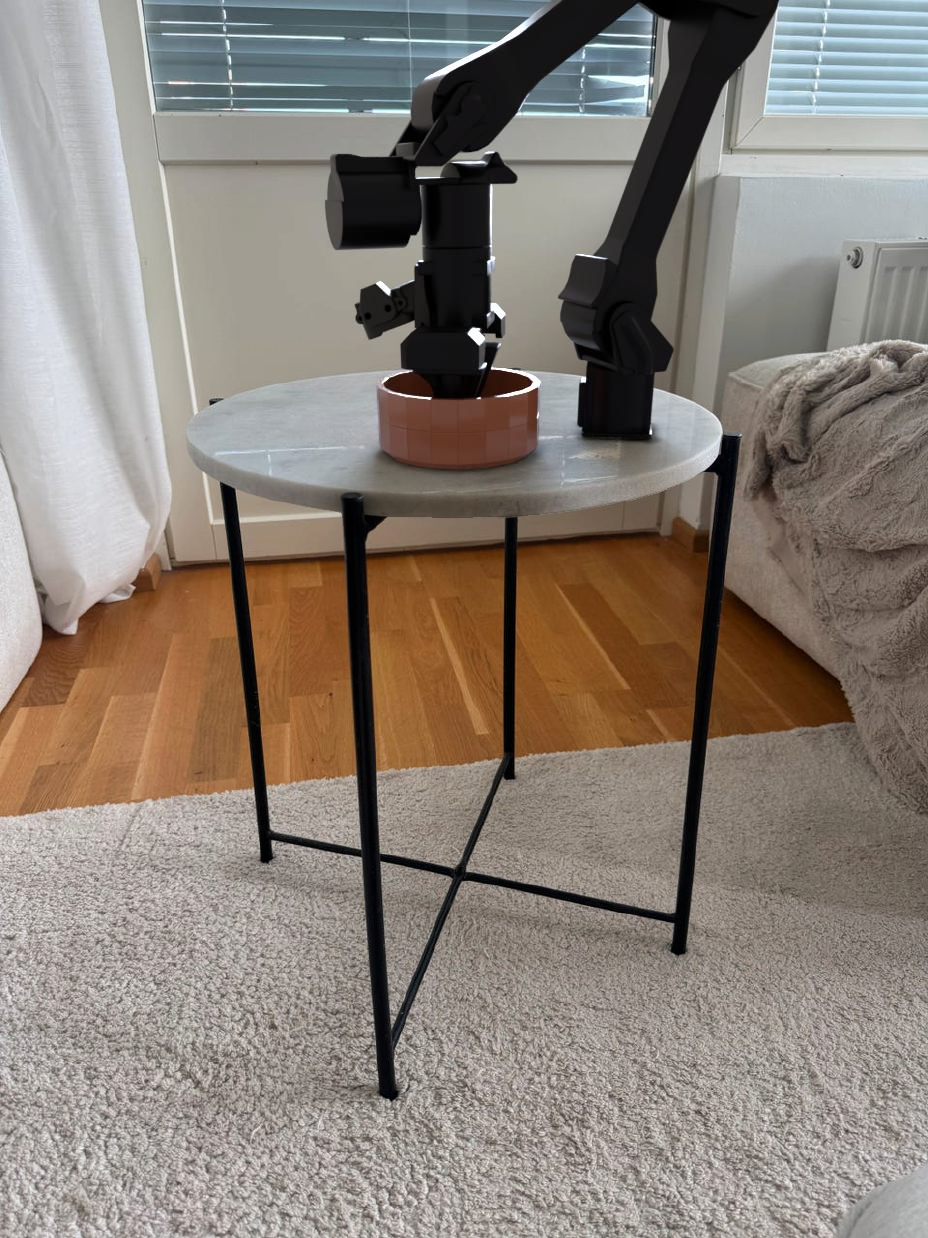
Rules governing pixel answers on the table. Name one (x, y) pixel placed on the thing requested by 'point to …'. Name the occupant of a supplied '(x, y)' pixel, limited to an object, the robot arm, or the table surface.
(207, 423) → the table surface
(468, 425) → the bowl
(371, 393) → the table surface
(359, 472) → the table surface
